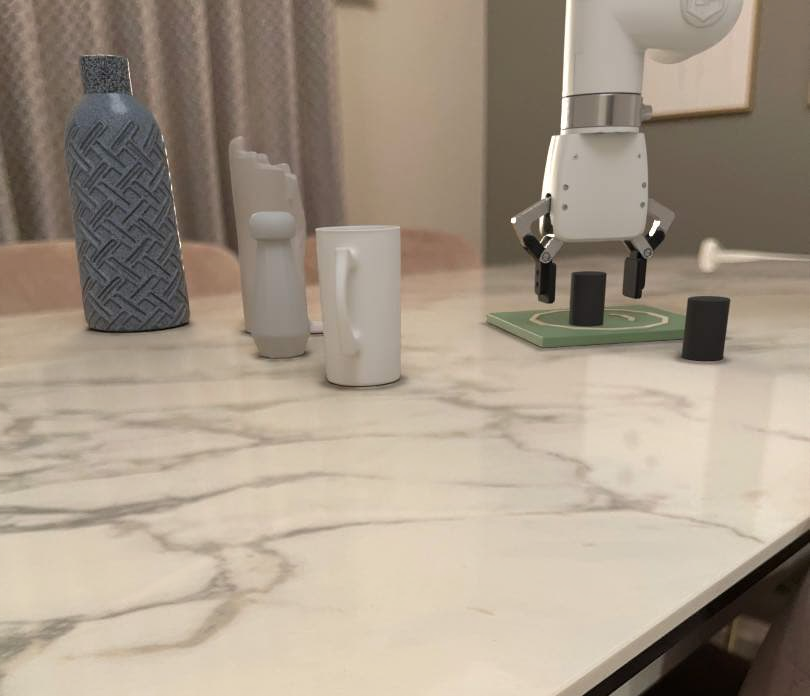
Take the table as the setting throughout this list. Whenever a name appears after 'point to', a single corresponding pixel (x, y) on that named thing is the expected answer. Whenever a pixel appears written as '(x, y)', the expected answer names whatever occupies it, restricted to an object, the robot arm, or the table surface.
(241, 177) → the foot sculpture
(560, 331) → the face board
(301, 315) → the salt shaker
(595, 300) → the black upright cylinder
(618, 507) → the table surface
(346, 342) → the mug
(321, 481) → the table surface
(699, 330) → the black upright cylinder
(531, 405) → the table surface
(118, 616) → the table surface
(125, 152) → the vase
